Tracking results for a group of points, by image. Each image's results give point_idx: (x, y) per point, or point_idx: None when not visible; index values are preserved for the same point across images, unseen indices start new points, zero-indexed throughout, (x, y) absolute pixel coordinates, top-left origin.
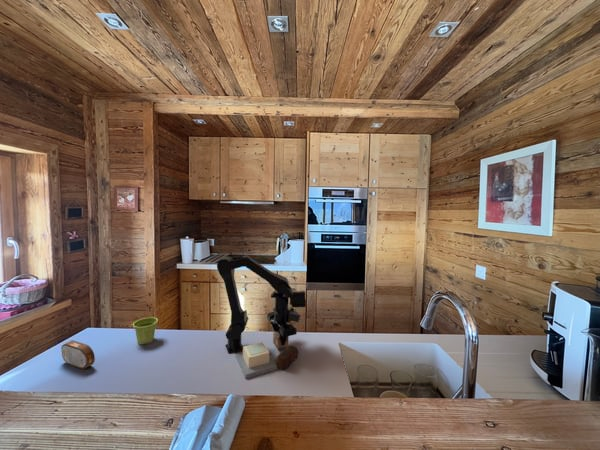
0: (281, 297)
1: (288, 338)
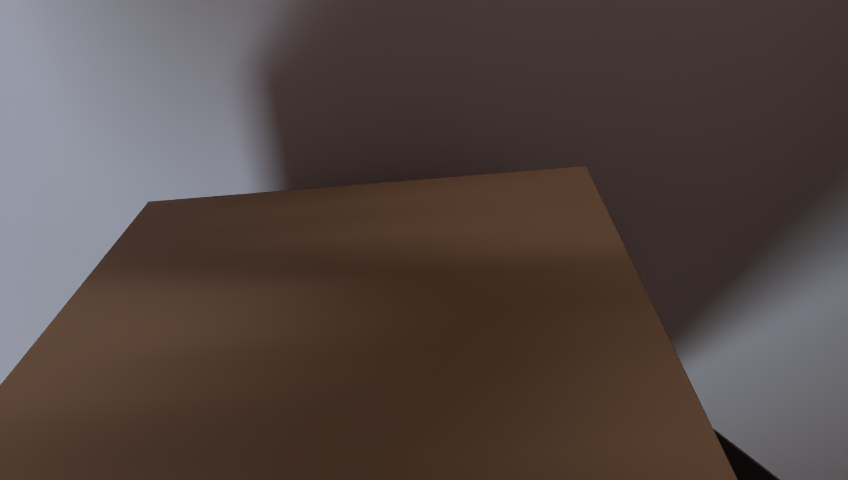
0: None
1: (660, 324)
